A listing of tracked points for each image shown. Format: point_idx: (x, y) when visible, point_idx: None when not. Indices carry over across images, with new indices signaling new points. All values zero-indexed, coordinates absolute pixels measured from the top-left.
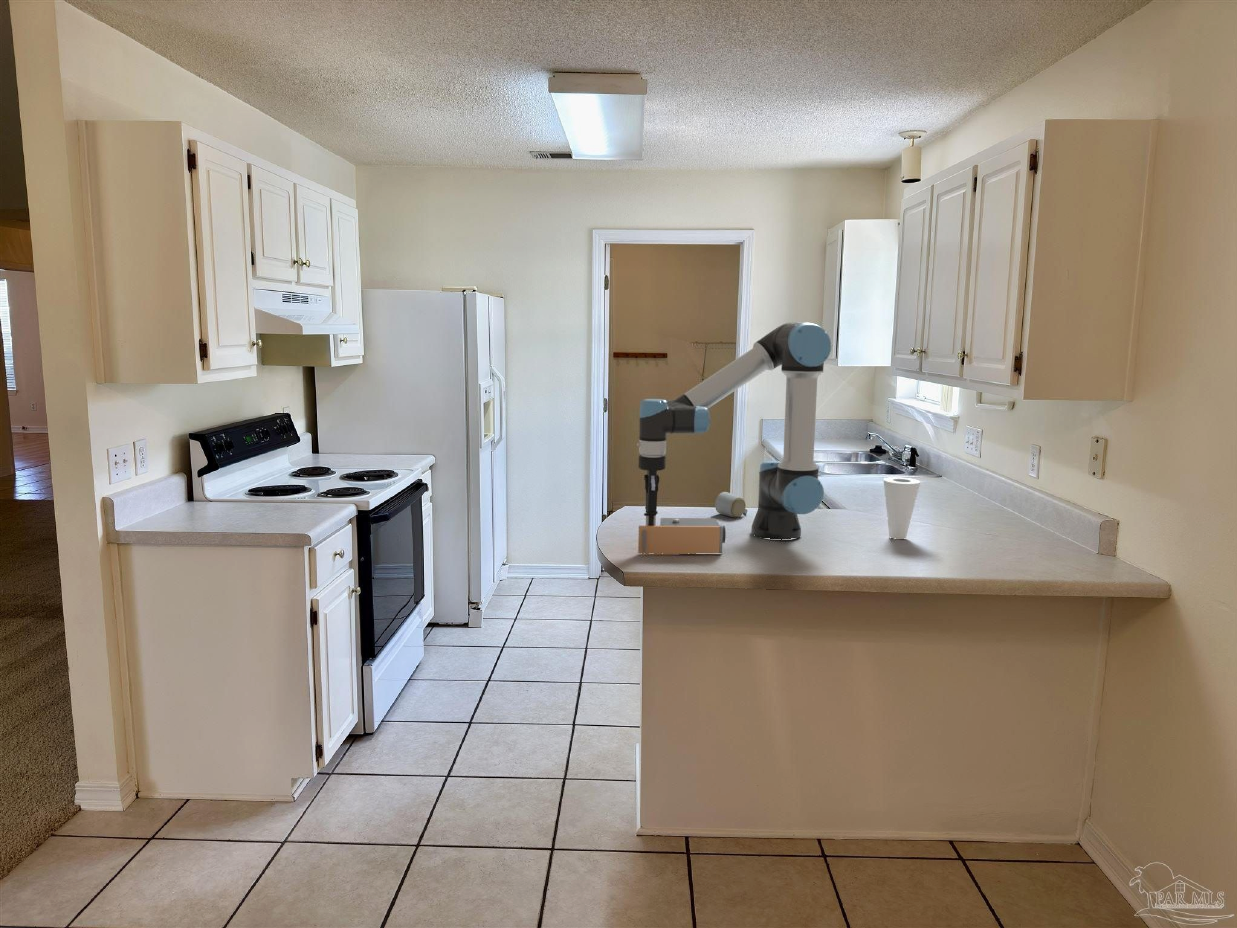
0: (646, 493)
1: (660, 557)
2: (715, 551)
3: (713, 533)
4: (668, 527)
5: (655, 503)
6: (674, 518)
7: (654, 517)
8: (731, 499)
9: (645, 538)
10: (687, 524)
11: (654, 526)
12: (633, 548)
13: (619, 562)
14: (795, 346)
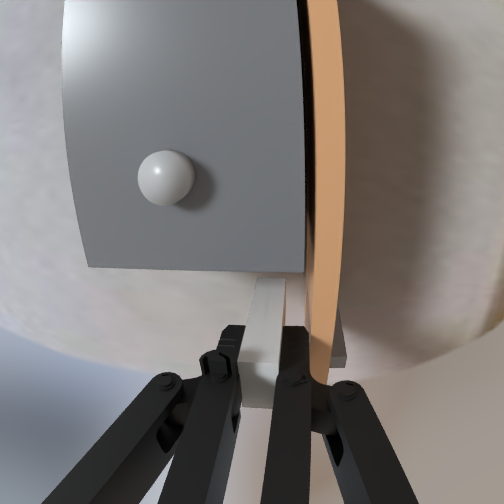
0: (136, 502)
1: (351, 228)
2: None
3: None
4: (340, 243)
5: (396, 470)
6: (79, 183)
7: (278, 360)
8: None
9: (342, 331)
10: (231, 89)
11: (331, 330)
12: (223, 316)
13: (392, 361)
14: None
